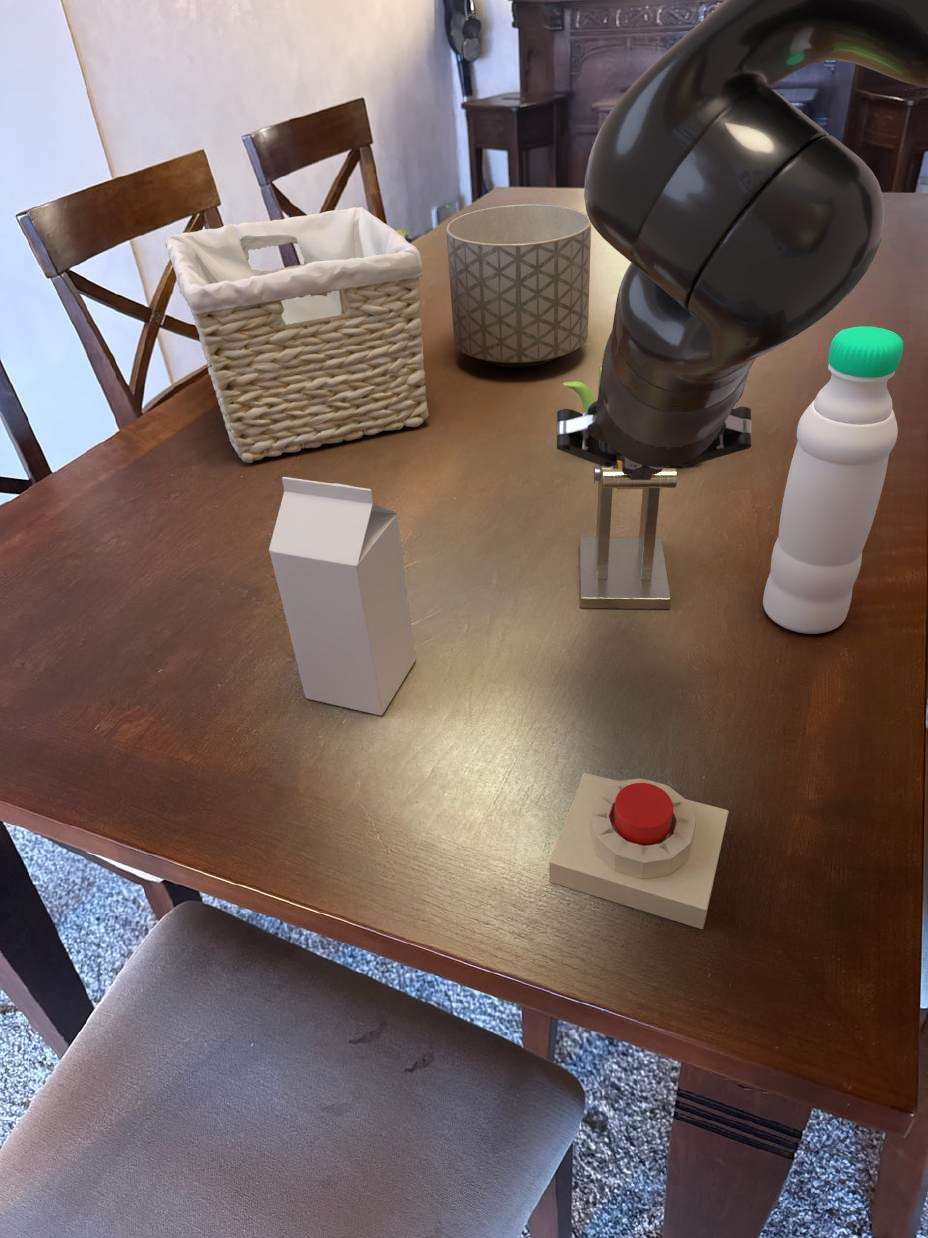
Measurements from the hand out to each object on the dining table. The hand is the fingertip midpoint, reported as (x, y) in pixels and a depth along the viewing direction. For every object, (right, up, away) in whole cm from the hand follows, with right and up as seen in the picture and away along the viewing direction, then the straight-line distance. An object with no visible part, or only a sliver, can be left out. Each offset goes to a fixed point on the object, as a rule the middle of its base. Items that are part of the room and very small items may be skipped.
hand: (639, 466), depth 64 cm
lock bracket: (+2, -7, +18) cm, 19 cm away
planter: (-5, +26, +60) cm, 66 cm away
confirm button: (-2, -24, -9) cm, 26 cm away
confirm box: (-1, -27, -7) cm, 28 cm away
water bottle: (+17, -11, +12) cm, 24 cm away
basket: (-33, +17, +51) cm, 63 cm away
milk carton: (-22, -17, +9) cm, 29 cm away
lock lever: (+1, -1, +7) cm, 7 cm away
